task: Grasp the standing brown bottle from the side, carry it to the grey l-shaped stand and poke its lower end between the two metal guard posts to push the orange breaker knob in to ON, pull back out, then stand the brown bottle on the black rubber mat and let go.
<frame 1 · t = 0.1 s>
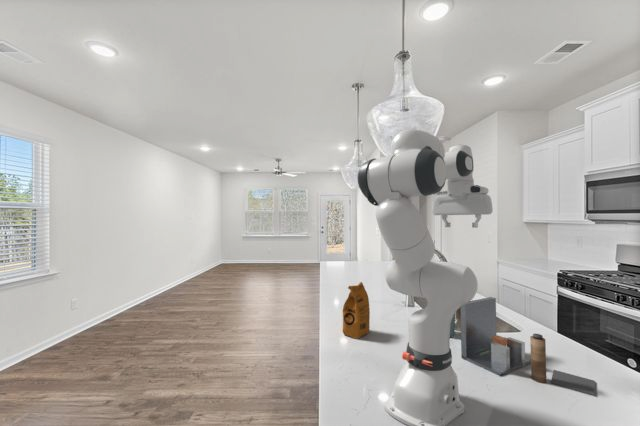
hand: (461, 227, 107), 48 cm above the counter, tool pointing down, fingers open, 8 cm apart
brown bottle: (538, 379, 91), on the counter
breaker toggle: (499, 348, 103), point 5 cm above the counter, slide at 0.0 cm
grey l-shaped stand: (495, 360, 104), on the counter
stylus rest: (573, 382, 89), on the counter
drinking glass: (443, 333, 129), on the counter
coffee package: (356, 333, 130), on the counter
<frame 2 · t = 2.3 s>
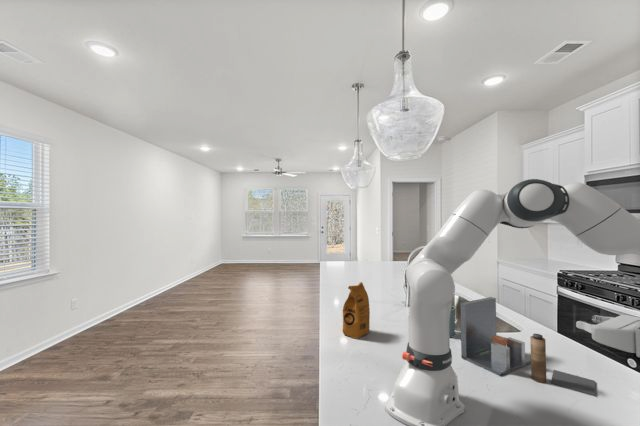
hand: (585, 321, 81), 22 cm above the counter, tool horizontal, fingers open, 8 cm apart
nothing on the counter moved.
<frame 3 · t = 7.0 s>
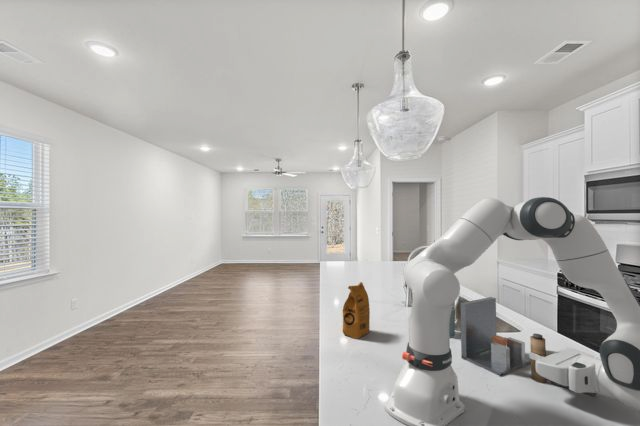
hand: (535, 352, 92), 8 cm above the counter, tool horizontal, fingers closed on brown bottle, 4 cm apart
brown bottle: (538, 379, 91), on the counter, touching gripper
everything else where it was.
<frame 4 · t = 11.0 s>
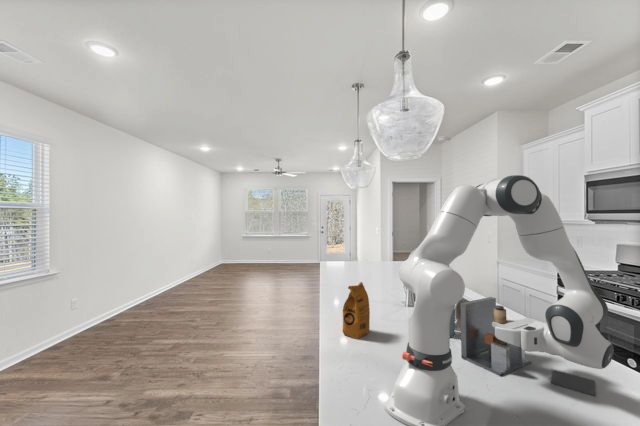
hand: (497, 322, 103), 14 cm above the counter, tool horizontal, fingers closed on brown bottle, 4 cm apart
brown bottle: (500, 346, 102), point 6 cm above the counter, touching breaker toggle, gripper
breaker toggle: (491, 345, 105), point 5 cm above the counter, slide at 2.8 cm, touching brown bottle
everything else where it was.
when the fingers open (9 cm above the counter, at t = 14.9 s): brown bottle stays where it is, resting on stylus rest.
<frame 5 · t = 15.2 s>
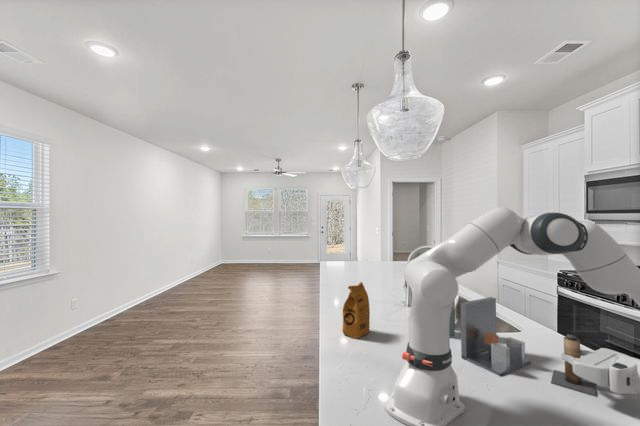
hand: (568, 353, 91), 9 cm above the counter, tool horizontal, fingers open, 6 cm apart
brown bottle: (573, 381, 89), resting on stylus rest
breaker toggle: (491, 344, 105), point 5 cm above the counter, slide at 2.9 cm
everything else where it was.
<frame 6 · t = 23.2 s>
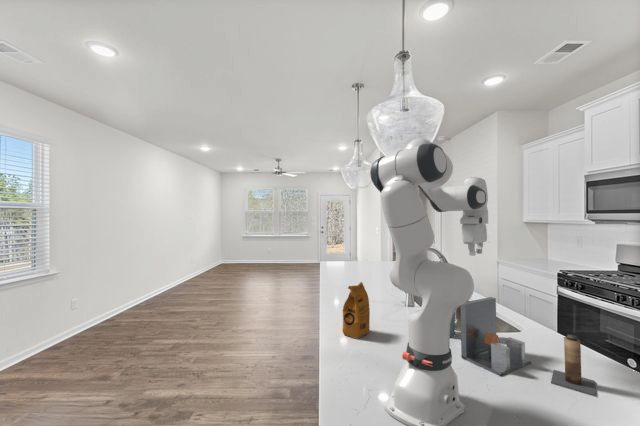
hand: (475, 254, 113), 37 cm above the counter, tool pointing down, fingers open, 8 cm apart
nothing on the counter moved.
at the end: breaker toggle slide at 2.9 cm; brown bottle 0.1 cm from the stylus rest (horizontally); brown bottle tilted 0° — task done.
